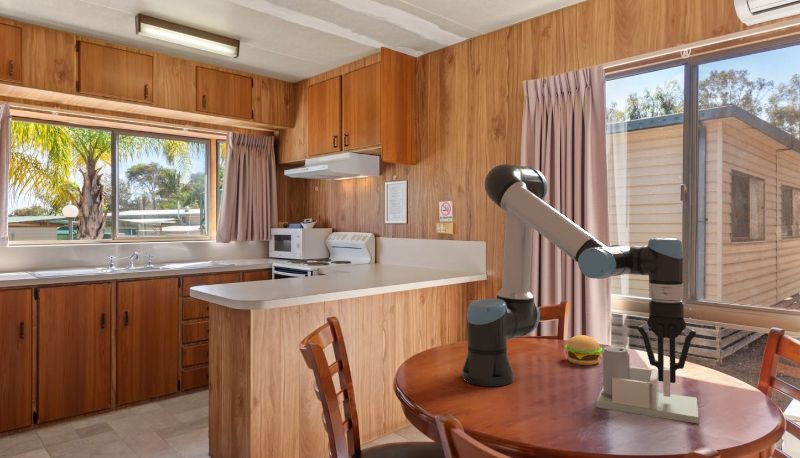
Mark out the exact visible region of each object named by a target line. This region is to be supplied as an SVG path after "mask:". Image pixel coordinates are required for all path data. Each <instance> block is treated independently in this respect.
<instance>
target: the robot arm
mask: <svg viewBox="0 0 800 458" xmlns="http://www.w3.org/2000/svg"><path fill="white" fill-rule="evenodd" d="M484 191H485V193H486V195H487V196H488V198H489V199H490V200H491V201H492V202H493V203H494V204H495V205H497V206H498V207H499V208H500V209H501V210H502V211H503V212H504V214H505V223H504V224H505V225H504V242H503V244H504V245H503V259H502V261H503V263H502V279H501V281H502V282H501V289H500V290H499V291H497V293H496V297H495V298H494V297H493V298H491V297H490V298H484V299H482V298H481V299H477V300H474V301H472V302H471V303H469V304H468V306H467V314H466V325H467V328H466V333H467V335H466V336H467V337H466V338H467V353H466V357H465V360H464V364H463V367H462V371H461V376H462V377H463V379H465V380H466V381H468V382H470V383H473V384H472V385H474V384H476V385H475V386H479V385H481V387H502V386H506V385H510V384H511V383H513V382H514V371H513V367H512V365H511V362H510V360H509V359H510V358H509V355H508V349H507V348H508V347H507V346H508V344H507V343H508V340H512V339H514V338H515V339H516V338H520V337H525V336H526V335H528V334H531V333H532V332H534V331H535V330H536V329H537V327H538V325H539V323H540V318H541V313H540V309H539V307H538V306H537V303H536V302H535V295H534V294H533V293H532V292H531V291H530V286H531V271H532V268H531V267H532V252H533V251H532V249H533V235H534V233H533V232H534V230H535V231H536V232H538V233H539V235H541V236H543V237H544V238H545V239H546V240H548V241H549V242H550V243H552V244H553V245H554V246H556V247H557V248H558V249H559V250H561V251H562V252H563V253H565V254H566V255H567V256H568V257H570V258H571V259H572V260H574V261H575V262H576V263H577V264H578V269H579V270H580V272H581V274H583V276H585V277H587V278H589V279H598V280H599V279H607V278H610V277H616V276H617V277H618V276H624V275H634V276H636V275H637V276H640V275H641V276H648V297H649V299H651V300H649V301H648V307H649V308H648V312H649V313H648V316H649V317H648V319H647V320H646V323H644V324H642V325H640V324H639V325H638V327H637V331H638V332H639V334H640V335H641V336H642V339H643V343H644V347H645V351H646V354H647V358H648V361H649V362H648V363H649V364H650V366H652V367H655V368H657V370H658V380H659V382H662V383H663V385H662V388H663V390H662V391H663V392H662V393H663V395H664V396H666V397H670V394H672V392H671V384H676V371H677V370H681V369H684V367H685V364H686V360H687V357H688V353H689V350H690V347H691V343H692V340H693V339H694V338H695V336H696V335H697V332H696V329H694V328H693V329H692V328H691V327H689V326H687V323H686V321H685V319H684V311H685V309H684V302H683V300H684V254H683V251H684V250H683V242H682V240H680V239H679V238H675V237H674V238H662V237H661V238H659V237H658V238H650V239H649V240H648V244H647V245H619V244H612V245H611V244H610V245H605V244H604V243H603V242H601V241H599V240H598V239H597V238H596V237H594V235H593V236H592V234H590V233H589V232H588V231H586V230H584V229H583V228H582V227H580V226H579V225H578V224H576V223H575V222H574V221H572V220H570V219H569V218H568V217H566V216H565V215H564V214H562V213H561V212H559V211H558V210H557V209H555V208H554V207H552V206H551V205H549V204H548V203H547V202H545V201H544V198H545V197H546V195H547V192H548V181H547V179H546V177H545V175H544V174H543V172H541V171H540V170H539V169H537V168H535V167H534V168H533V167H531V166H526V165H525V166H523V165H514V164H509V163H508V164H507V163H503V164H498V165H495V167H492V168H491V169H490V170H489V171H488V173H487V174H486V177H485V179H484ZM650 330H651V331H652V333H654V335H655V336H656V337H657V359H656V358H655V354H654V351H653V347H652V342H651V339H650V336H649V332H650ZM683 331H684V337H685V338H684V341H683V345H682V348H681V352H680V355H679V359H678V362H676V338H678V337H679V336H680V335H681V334H682V333H683ZM664 338H665V339H669V340H668V341H669V367H666V366H665V361H664V360H665V357H664V354H665V353H664V352H665V351H664V344H665V343H664ZM664 366H665V367H664ZM462 377H461V378H462ZM463 379H462V380H463ZM466 381H465V382H466ZM468 382H467V383H468ZM470 383H469V384H470Z"/></svg>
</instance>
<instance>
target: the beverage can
mask: <svg viewBox="0 0 800 458" xmlns="http://www.w3.org/2000/svg"><path fill="white" fill-rule="evenodd" d="M603 349H604V350H603V352H602V380H603V381H602V383H603V384H602V386H603V387H602V388H603V391H604V392H605V393H606V394H607V395H608V396H611V397H612V378H621V379H629V380H630V366H631V364H630V362H631V361H630V353H629V350H628V348H625V347H622V346H621V347H620V346H605V347H604V348H603Z"/></svg>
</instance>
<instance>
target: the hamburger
mask: <svg viewBox="0 0 800 458" xmlns="http://www.w3.org/2000/svg"><path fill="white" fill-rule="evenodd" d="M564 349H565V353H566V355H567V359H568V361H569V362H570V363H573V364H576V365H581V366H594V365H596V364H598V363H600V358H603V353H602V351H603V348H602V346H601V347H600V344H599V341H598V340H596V339H595V338H594V337H591V336H589V335H586V334H585V335H584V334H583V335H582V334H579V335H575V336H572V337H571V338H569V340H568V341H567V344H565V345H564Z"/></svg>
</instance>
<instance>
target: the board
mask: <svg viewBox="0 0 800 458" xmlns="http://www.w3.org/2000/svg"><path fill="white" fill-rule="evenodd" d="M595 402H596V403H595V407H596V408H599V409H606V410H613V411H618V412H625V413H630V414H637V415H643V416H650V417H655V418H663V419H668V420H674V421H680V422H686V423H692V424H698V425H699V423H700V422H699V421H700V420H699V409H698V398H697V397H695V396H694V397H693V396H685V395H680V394H673V393H671V394H670V397H666V396H664V395H663V392H659V394H658V402H657V409H649V408H643V407H636V406H630V405H624V404H617V403H612V397H611V396H608V395H607V394H606V393H605V392H604V391H603V387H602V388H601V391H600V392H599V395H598V397H597V399H596V401H595Z"/></svg>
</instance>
